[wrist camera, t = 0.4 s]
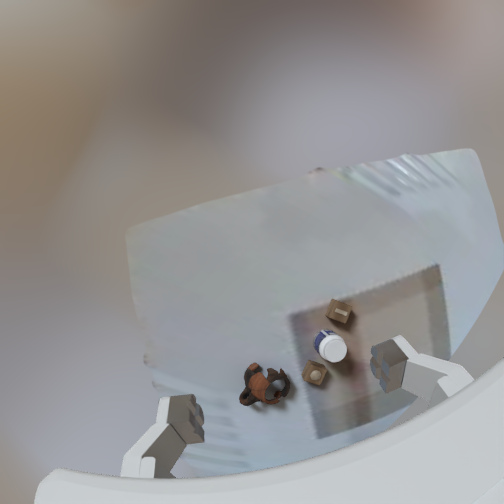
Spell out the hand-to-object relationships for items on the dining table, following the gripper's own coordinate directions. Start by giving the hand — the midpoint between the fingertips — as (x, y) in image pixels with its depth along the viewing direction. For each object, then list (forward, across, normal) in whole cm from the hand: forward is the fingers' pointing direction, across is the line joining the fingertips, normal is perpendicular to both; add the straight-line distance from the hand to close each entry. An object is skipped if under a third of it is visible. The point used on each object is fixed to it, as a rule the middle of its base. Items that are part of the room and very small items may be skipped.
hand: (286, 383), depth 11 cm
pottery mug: (+38, -4, -40) cm, 55 cm away
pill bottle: (+40, +13, -34) cm, 54 cm away
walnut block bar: (+42, +17, -28) cm, 54 cm away
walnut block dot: (+37, +8, -40) cm, 55 cm away
